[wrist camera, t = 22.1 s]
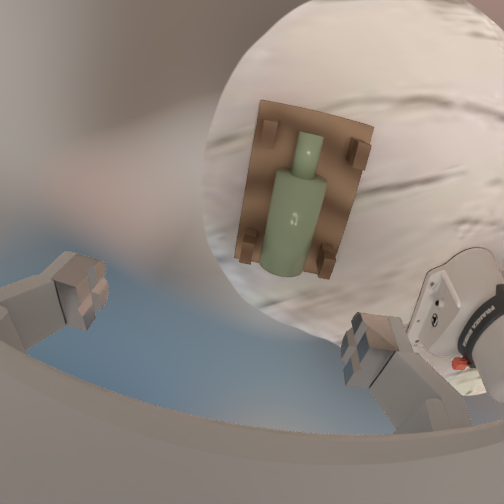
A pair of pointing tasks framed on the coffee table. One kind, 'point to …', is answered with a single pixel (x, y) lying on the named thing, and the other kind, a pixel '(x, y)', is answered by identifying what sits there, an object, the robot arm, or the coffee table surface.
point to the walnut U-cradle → (329, 167)
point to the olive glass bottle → (294, 210)
